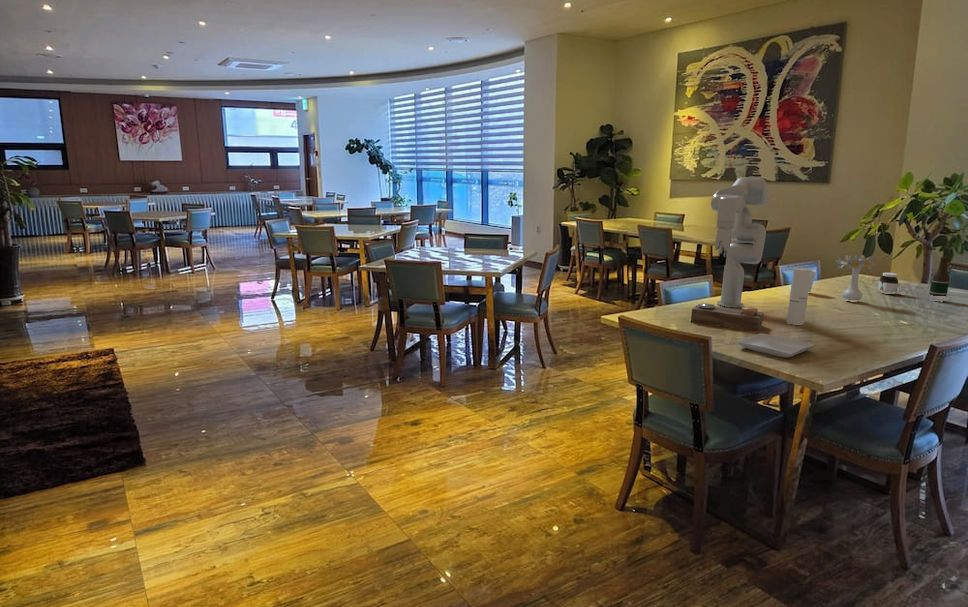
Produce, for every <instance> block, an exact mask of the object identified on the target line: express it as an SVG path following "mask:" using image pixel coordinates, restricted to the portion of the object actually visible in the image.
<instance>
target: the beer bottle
mask: <svg viewBox="0 0 968 607" xmlns="http://www.w3.org/2000/svg"><path fill="white" fill-rule="evenodd" d="M949 259H950V258H949V257H948V256H941V257H940V261H939V265H938V267H937V268H938V269H937V271H936V272H935V273H934V274H933V276H932V277H931V281H930V288H929V291H928V292H929V293H928V295H929V294H930V295H933V296H946V297H947V296H948V290H949V284H950V275H949V274H948V262H949Z"/></svg>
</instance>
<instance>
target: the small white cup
mask: <svg viewBox="0 0 968 607" xmlns="http://www.w3.org/2000/svg"><path fill="white" fill-rule="evenodd" d="M698 304H699V307H700V309H708V310H713V309H714V306H715V304H711V303H708V302H706V303H698Z"/></svg>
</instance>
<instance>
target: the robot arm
mask: <svg viewBox="0 0 968 607" xmlns="http://www.w3.org/2000/svg"><path fill="white" fill-rule="evenodd" d="M710 200H711V202H710V207H711V209H712V210H713V211H716V212H717V217H716V218H717V219H716V229H717V230H716V237H715V242H714V243H715V244H714V250H715V251H718V257H717V266H724V268H723V275H722V276H723V277H722V287H721V293H720V294H721V295H720V300H717V302H716V303H717V305H718V306H720V305H721V306H720V307H724V306H725V308H731V307H732V309H738V308H739V309H741V308H742V307H745V304H744V303H743V302H742V294H743V287H744V277H745V270H744V268H743V266H742V265H741V264H752V265H757V264H760V262H761V260H762V258H763V253H764V252H763V251H764V247H765V242H766V236H767V230H766V227H765V226H764V225H763V224H760V223H759V224H758V223H752V221H753V218H754V215H753V213H752V210H750V208H749V207H748V206H765V205H767V203H769V202H768V201H769V200H770V191H769V187H768V184H767V181H766V179H764V178H763V177H758V176H757V177H754V176H752V177H751V176H744V177H743V176H742V177H739V178H737V179H736V180H735V182H733V184H732V185H731V186H728V187H724V188H721V189H719V190H716V192H715V193H714V194H713V195H712V198H711V199H710ZM732 241H733V242H732Z"/></svg>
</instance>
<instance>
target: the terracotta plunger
mask: <svg viewBox="0 0 968 607" xmlns="http://www.w3.org/2000/svg"><path fill="white" fill-rule="evenodd" d="M741 310H742V311H743V314H745V315H752V316H755V314H756V312H758V310H759V309H758V308H757V307H753V306H743V307H741Z"/></svg>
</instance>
